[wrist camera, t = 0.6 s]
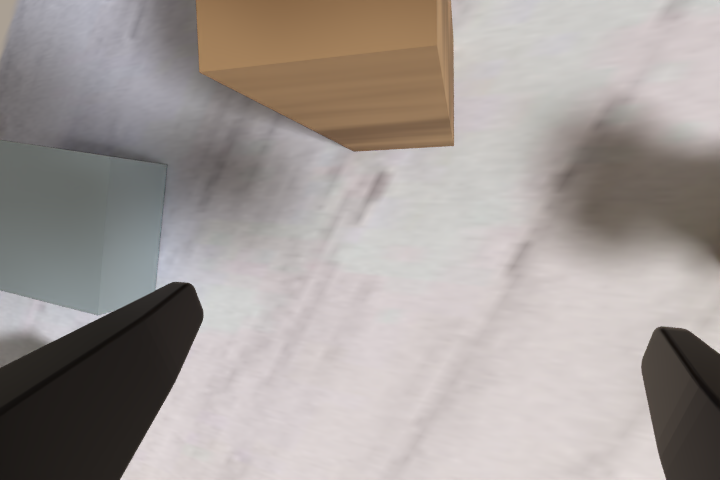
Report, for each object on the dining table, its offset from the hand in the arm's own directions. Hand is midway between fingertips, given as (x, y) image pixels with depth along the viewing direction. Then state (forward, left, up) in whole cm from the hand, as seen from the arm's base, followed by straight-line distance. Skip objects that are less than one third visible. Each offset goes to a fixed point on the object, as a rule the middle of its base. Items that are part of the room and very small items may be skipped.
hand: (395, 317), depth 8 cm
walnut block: (+7, +3, -13) cm, 15 cm away
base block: (-2, +20, -13) cm, 24 cm away
